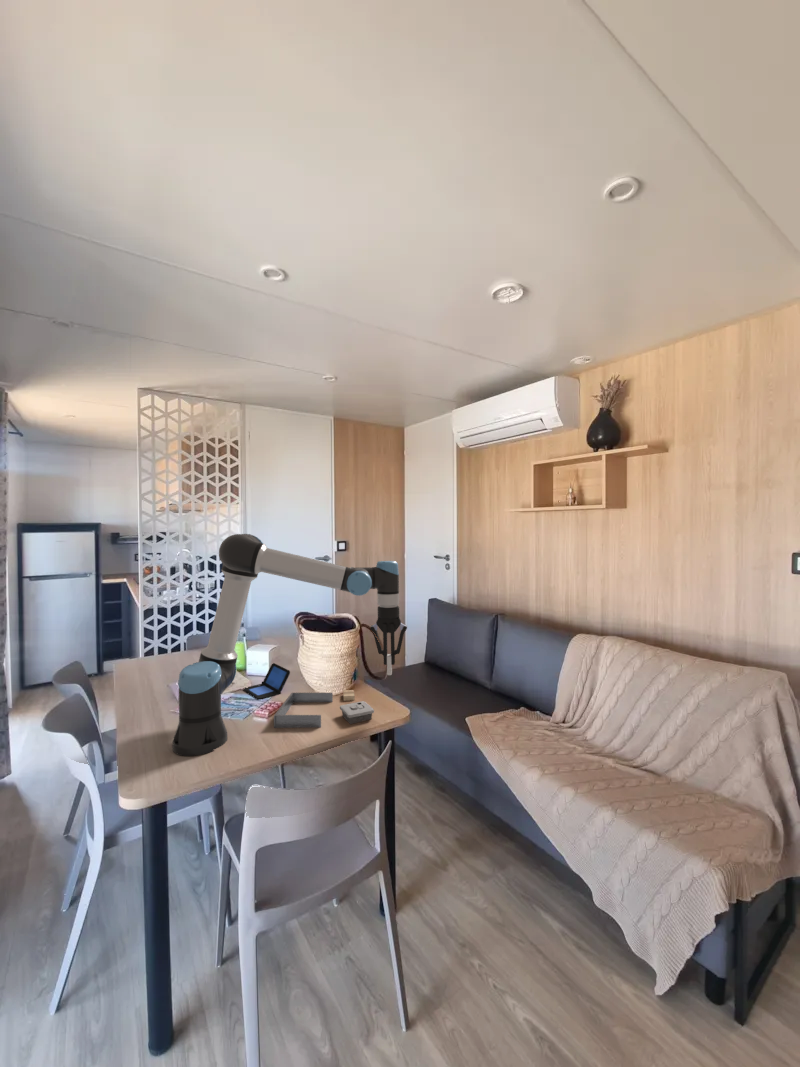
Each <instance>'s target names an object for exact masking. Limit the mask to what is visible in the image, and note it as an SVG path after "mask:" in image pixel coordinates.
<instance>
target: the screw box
mask: <svg viewBox="0 0 800 1067" xmlns="http://www.w3.org/2000/svg"><path fill="white" fill-rule="evenodd" d="M342 693H343V694H342V695H343V697H342V698H343V702H349V701H350V700H351V701H355V700H356V699H355V690H353V689H349V690H346V689H344V690H343V692H342Z"/></svg>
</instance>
